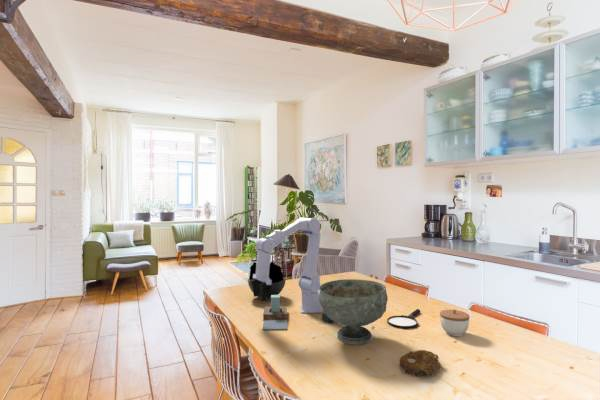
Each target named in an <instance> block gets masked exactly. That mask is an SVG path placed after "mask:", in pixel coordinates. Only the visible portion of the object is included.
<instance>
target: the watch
mask: <svg viewBox="0 0 600 400" xmlns="http://www.w3.org/2000/svg"><path fill="white" fill-rule="evenodd" d="M321 313H322V314H321V321H322V322H325V323H326V324H331V323H335V322H334V321H333V320H331V319H330V318H328V316H327V315H326V314H325V313H324V312H321Z"/></svg>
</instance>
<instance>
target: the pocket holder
mask: <svg viewBox="0 0 600 400" xmlns="http://www.w3.org/2000/svg"><path fill="white" fill-rule="evenodd" d="M262 319H263V320H262V321H264V320H287V321H288V306H280V312H271V306H264V309H263V317H262Z"/></svg>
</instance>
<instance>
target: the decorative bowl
mask: <svg viewBox="0 0 600 400" xmlns="http://www.w3.org/2000/svg"><path fill="white" fill-rule="evenodd" d="M319 292H320V295H319V301H320V304H321V307H322V312H323V313H325V314H326V315H327V316H328V318H330V319H331V320H333V321H334V322H333V323H336V324H338V325H342V327H341V328H339V330H338V331H337V332H336V333H337V339H338V340H339V341H340V342H342V343H345V344H348V345H349V344H350V345H364V344H367V343H369V342H371V341H372V340H373V334H372V332H371V331H370V330H369V329H367V328H365V326H369V325H371V324H372V323H375V322H376V321H378V320H379V319H382V317H383V316H384V314H385V313H386V311H387V305H388V299H389V298H388V292H387V286H386V284H383V283H381V282H378V281H374V280H369V279H359V278H358V279H357V278H354V279H353V278H351V279H348V278H347V279H346V278H345V279H335V280H331V281H327V282H324V283H322V284H320V287H319Z"/></svg>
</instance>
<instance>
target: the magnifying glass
mask: <svg viewBox="0 0 600 400" xmlns="http://www.w3.org/2000/svg"><path fill="white" fill-rule="evenodd" d="M420 314H421V310H420V309H419V308H416V309H415V310H413V311H412V312H411V313H410V314H408V315H404V314H403V315H392V316H389V317H388V318H387V321H386V324H388V326H390V327H393V328H396V329H402V330H411V329H415V328H417V327H418V326H419V325H418V320H416V318H415V317H417V316H418V315H420Z"/></svg>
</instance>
